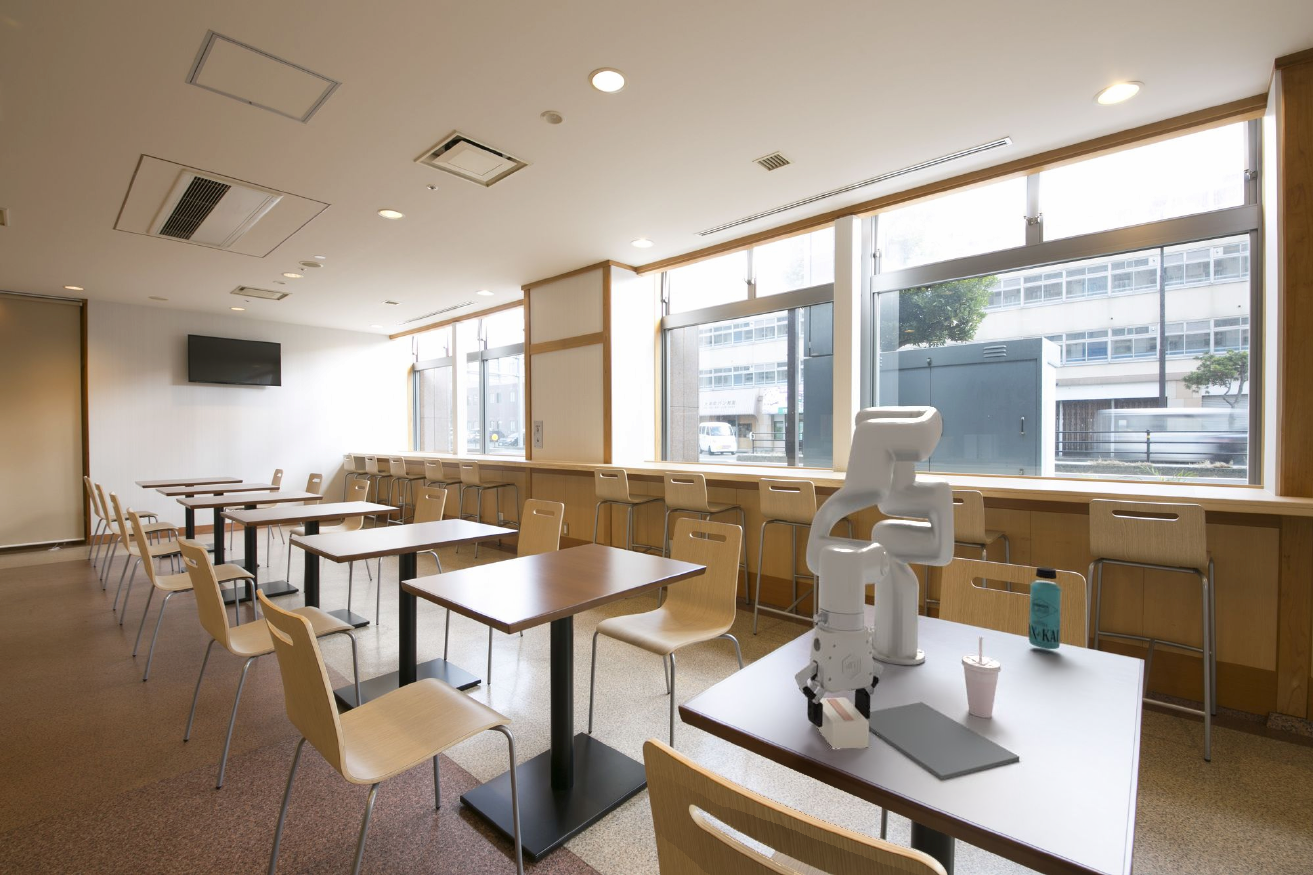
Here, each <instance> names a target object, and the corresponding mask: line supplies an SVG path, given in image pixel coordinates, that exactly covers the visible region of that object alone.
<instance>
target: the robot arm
mask: <svg viewBox="0 0 1313 875" xmlns="http://www.w3.org/2000/svg"><path fill="white" fill-rule="evenodd" d="M854 426H855V429H854V431H853V437H852V441H851V446H850V449H849V456H848V462H847V465H846V466H847V468H846V472H845V478H844V483H843V485H842V486H841V487H840V488H839V489H838V490H837V491H835V492H834V493H833V494H831V495H830V496H829V497H828V498H827V499H826V500H825V502H823V504H822V505H820V507H819V508H818V510H817V511H816V513H815V515H814V517H813V520H812V522H811V525H810V526H811V527H810V531H809V535H808V539H807V540H808V541H807V544H806V545H807V546H806V551H805V552H806V554H805V558H806V559H805V561H806V565H807V568H808V570H809V571H810V572H811V573H812V574H814V575H815V576H818V609H817V610H818V611H817V614H816V613H815V614H813V621H814V622H815V623H817V625H815V626H814V631H813V636H812V639H811V646H810V647H811V648H810V656H809V657H810V658H809V664H808V665H807V666H805V667H804V668H802V670H800V671H799V672H797V673H796V674H794V679H795V682H796V684H797V686H798V689H799V691H800V693H801V692H802V694H803V695H804V697H805V698H807V711H806V712H807V713H806V714H807V719H808V721H809V722H811V723H812V724H813V725H814V726H815V727H816V726H817V727H818V728H819V727H822V725H823V704H822V703H821V702H820V700H821V699H822V698H824V695H826V693H829V694H834V693H841V692H843V693H844V692H849V691H854V707H855V708H856V709H857V710H858V711H859V712H860V713H861V714H862V715H863V716H864V717H865V719H870V712H871V696H873V695H874V692H875V688H876V687H877V685H878V684H879V682H880V677H881V675H882V672H883V670H884V666H883V665H882V664H880V663H878V662H876V661H875V660H874V659H876V660H878V661H881V662H884V663H888V664H895V665H901V666H914V665H920V664H922V663H923V662H925V660H926V654H925V652H924V651H923V650H922V649H920V648H918V647H919V646H918V645H919V641H918V639H919V594H920V593H919V592H920V585H919V580H918V577H917V576H916V574H915V572H914V570H913V569H912V568H911V567H910V565H909V564H918V565H925V566H935V567H945V566H947V565H949V564H951V563H952V561H953V558H954V554H955V524H954V523H955V522H954V521H955V519H954V516H955V515H954V514H955V513H954V498H953V497H954V496H953V495H954V494H953V491H952V488H951V485H950V483H949V482H948V481H947V480H945V479H943V478H940V477H934V476H919V475H917V474H916V464H915V463H920V462H921V463H922V462H925V461H927V460H928V459H929V458H930V457H931V455H932V453H933V452H934V450H935V449H936V447H937V445H939V444H938V443H939V442H940V440H941V438H942V437H941V436H942V433H943V419H942V415H941V413H940V412H939V410H937V408H935V407H932V406H876V407H875V406H874V407H873V406H871V407H867V408H862V409H860V410H859V411H857V413H856V415H855V418H854ZM876 505H877V508H878V510H879V512H881V514H883V515H885V516H889V517H894V518H907V519H918V520H925V521H927V522H924V521H914V520H907V519H906V520H905V519H884V520H880V521H878V522H877V523H875V524H874V526H873V527H872V530H871V540H863V539H856V538H855V539H854V538H849V537H848V538H847V537H846V538H845V537H839V536H831V535H830V533H831V530H832V529H833V527H834V526H835V525H836V523H838V522H839V521H840V520H841V519H843V518H844V517H846V516H848V515H849V514H850V515H851V514H853V513H855V512H858V511H862V510H863V509H866V508H869V507H873V506H876ZM866 585H874V612H873V613H874V616H873V617H874V619H873V620H874V621H873V622H874V623H873V624H874V625H873V626H871V627H869V628H868V626H865V610H866V602H865V601H866ZM809 679H810V683H809V684H808V680H809ZM817 727H816V728H817Z"/></svg>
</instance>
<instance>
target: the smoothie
mask: <svg viewBox="0 0 1313 875" xmlns="http://www.w3.org/2000/svg"><path fill="white" fill-rule="evenodd" d="M961 665H962V666H963V670H964V672H963V673H964V679H965V689H966V695H967V697H966V698H967V706H968V712H969V713H970V714H972V716H975V717H977V718H983V719H988V718H991V717H992V716H993V714H992V713H993V708H994V704H995V703H994V702H995V696H996V690H997V684H998V679H999V678H998V677H999V673H1000V672H1001V670H1002V669H1001V663H1000V662H999V661H998V660H996V659H994V658H991V657H989V656H983V636H982V635H981V636H980V635H979V637H978V655H977V654H968V655H964V656H962V658H961Z"/></svg>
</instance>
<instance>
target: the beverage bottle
mask: <svg viewBox="0 0 1313 875" xmlns="http://www.w3.org/2000/svg"><path fill="white" fill-rule="evenodd" d="M1035 576H1036V577H1038V578H1041V579H1048V580H1038V579H1037V580H1035V581H1033V582H1032V583H1031V584H1030V585H1029V586H1030V596H1029V597H1030V598H1029V599H1030V600H1029V601H1030V602H1029V615H1028V618H1029V619H1028V637H1027V638H1028V641H1029V644H1030V645H1033V646H1035V647H1038V648H1042V649H1047V650H1056V649H1059V648H1060V645H1061V641H1062V640H1061V638H1062V636H1061V635H1062V633H1061V630H1062V628H1061V626H1062V624H1061V619H1062V618H1061V615H1062V613H1061V611H1062V610H1061V603H1062V602H1061V601H1062V600H1061V598H1062V588H1061V587H1060V586H1059V585H1058V584H1057V583H1056V582H1052V581H1049V580H1056V579H1057V570H1056V569H1055V568H1050V567H1042V566H1041V567H1039V566H1038V567H1036V572H1035Z"/></svg>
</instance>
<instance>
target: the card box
mask: <svg viewBox="0 0 1313 875" xmlns="http://www.w3.org/2000/svg"><path fill="white" fill-rule="evenodd" d="M820 702H821V703H822V704H823V725H822V727H819V728H818V727H817V726H815V727H816V729H817V728H818V729H819V730H818V729H817V730H818V731H819V732H821V733H822V734H823V735H822V734H821V733H820V734H821V735H822V736H824V737H825V738H826V739H825V738H824V737H823V738H824V739H825V741H826V740H827V741H828V742H829V744H830V745H831V746H832V748H858V749H866V748H865V747H868V748H869V740H870V739H869V734H870V733H869V731H870V730H869V722H868V721H867V720H866V719H865V717H864V716H863V715H862V714H861V713H860V712H859V711H858V710H857V709H856V708H855V705H853V704H852V703H851V701H850V700H849V699H848V698H847V697H822V699H821V700H820ZM827 741H826V742H827ZM828 742H827V743H828ZM829 744H828V745H829ZM830 745H829V746H830ZM831 746H830V747H831ZM863 747H864V748H863ZM832 748H831V749H832Z"/></svg>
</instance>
